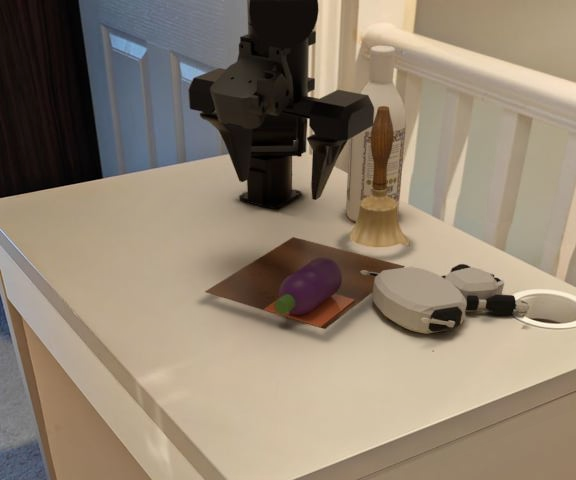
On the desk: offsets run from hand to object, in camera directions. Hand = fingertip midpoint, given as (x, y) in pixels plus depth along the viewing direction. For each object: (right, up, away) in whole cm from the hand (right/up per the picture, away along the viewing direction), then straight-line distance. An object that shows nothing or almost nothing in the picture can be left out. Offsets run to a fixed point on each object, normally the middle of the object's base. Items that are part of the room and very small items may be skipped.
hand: (279, 189), depth 88 cm
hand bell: (+12, -1, +16) cm, 20 cm away
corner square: (+3, -12, +1) cm, 13 cm away
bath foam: (+12, +5, +23) cm, 27 cm away
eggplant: (+3, -12, 0) cm, 12 cm away
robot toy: (+17, -13, +1) cm, 22 cm away
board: (+3, -9, +6) cm, 11 cm away
